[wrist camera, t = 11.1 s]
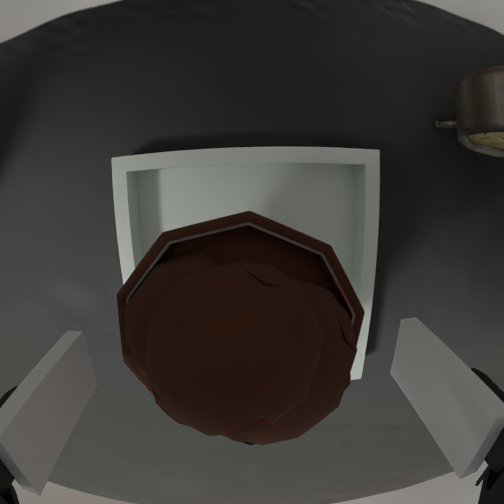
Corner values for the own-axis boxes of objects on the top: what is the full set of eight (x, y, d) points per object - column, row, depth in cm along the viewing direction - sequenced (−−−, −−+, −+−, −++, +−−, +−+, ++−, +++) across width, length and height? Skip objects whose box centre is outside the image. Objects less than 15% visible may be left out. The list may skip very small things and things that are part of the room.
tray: (151, 368, 25) (144, 386, 22) (125, 158, 21) (111, 157, 18) (352, 361, 25) (360, 378, 23) (365, 151, 21) (379, 149, 18)
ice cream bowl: (137, 282, 22) (25, 420, 8) (234, 161, 20) (211, 139, 6) (246, 364, 24) (250, 536, 10) (347, 262, 22) (471, 387, 8)
